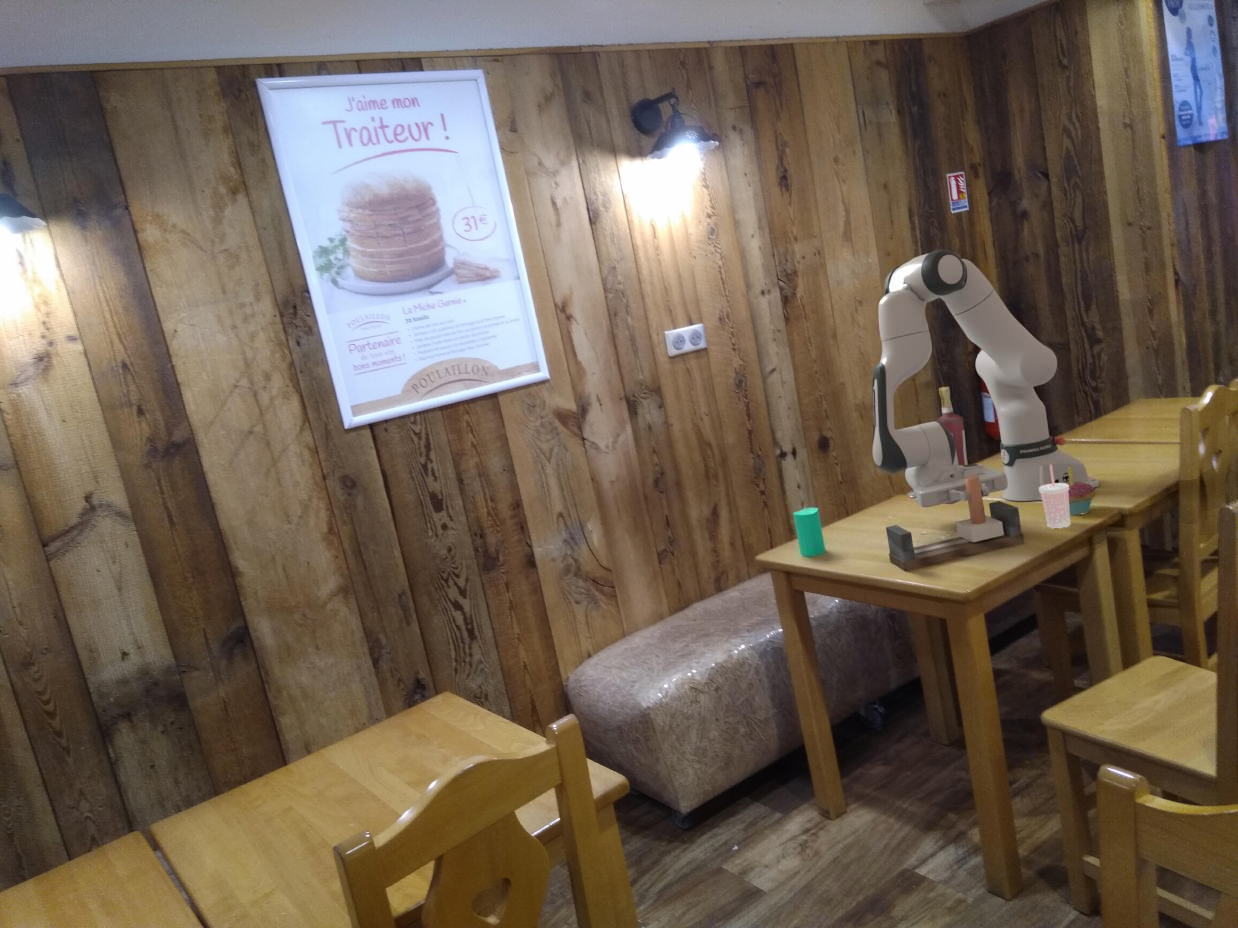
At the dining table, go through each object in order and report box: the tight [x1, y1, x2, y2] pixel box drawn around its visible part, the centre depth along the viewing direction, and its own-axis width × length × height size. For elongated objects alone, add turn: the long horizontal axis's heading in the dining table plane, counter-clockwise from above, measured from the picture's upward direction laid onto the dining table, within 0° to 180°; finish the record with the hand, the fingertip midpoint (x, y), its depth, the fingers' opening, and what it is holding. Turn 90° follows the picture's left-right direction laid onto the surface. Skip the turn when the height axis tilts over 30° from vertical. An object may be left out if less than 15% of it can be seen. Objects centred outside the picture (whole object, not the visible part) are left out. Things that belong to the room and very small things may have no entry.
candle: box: [793, 504, 826, 557], centre depth 218 cm, size 6×6×12 cm
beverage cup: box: [1039, 465, 1071, 529], centre depth 199 cm, size 6×6×14 cm
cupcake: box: [1066, 464, 1096, 514], centre depth 206 cm, size 9×8×12 cm
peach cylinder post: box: [955, 476, 1004, 542], centre depth 196 cm, size 7×7×13 cm
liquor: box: [935, 386, 969, 465], centre depth 250 cm, size 7×7×28 cm
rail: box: [885, 500, 1025, 572], centre depth 196 cm, size 27×8×8 cm, turn 95°
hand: (976, 494), depth 194 cm, fingers closed on peach cylinder post, 3 cm apart
